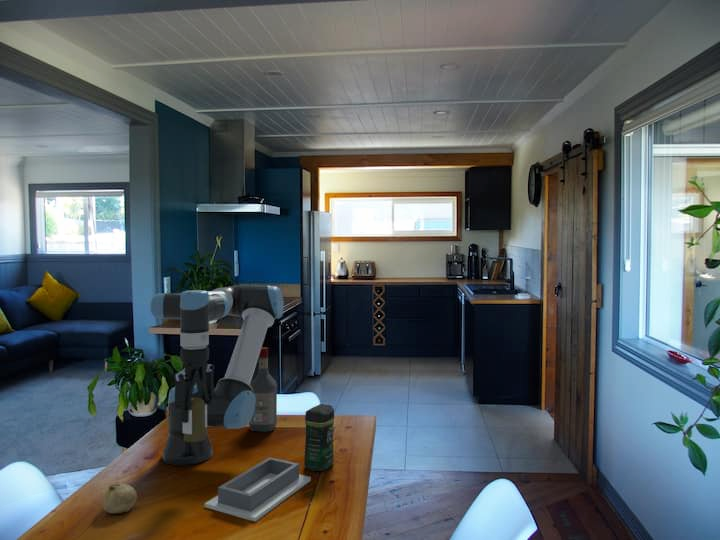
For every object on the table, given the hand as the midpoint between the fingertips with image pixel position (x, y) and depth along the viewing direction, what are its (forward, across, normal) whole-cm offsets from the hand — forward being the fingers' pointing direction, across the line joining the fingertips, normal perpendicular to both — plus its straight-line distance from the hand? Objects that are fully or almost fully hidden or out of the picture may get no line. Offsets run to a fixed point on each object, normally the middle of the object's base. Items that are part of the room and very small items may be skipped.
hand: (195, 429), depth 146 cm
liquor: (+17, +49, +13) cm, 53 cm away
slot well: (+16, +6, -18) cm, 25 cm away
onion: (+17, -18, +8) cm, 26 cm away
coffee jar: (+17, +29, -23) cm, 41 cm away
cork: (+2, 0, 0) cm, 2 cm away
